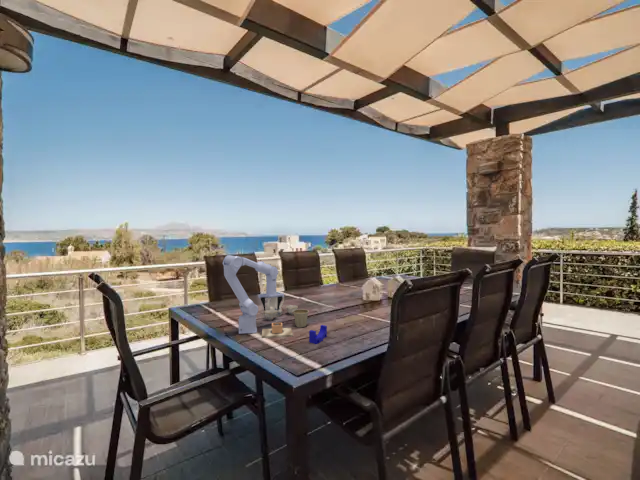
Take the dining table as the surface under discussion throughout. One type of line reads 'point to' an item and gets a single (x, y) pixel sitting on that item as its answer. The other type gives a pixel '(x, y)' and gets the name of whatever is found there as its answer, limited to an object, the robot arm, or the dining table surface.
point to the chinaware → (272, 309)
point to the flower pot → (300, 317)
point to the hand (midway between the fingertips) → (271, 310)
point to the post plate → (268, 333)
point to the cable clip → (318, 338)
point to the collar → (277, 328)
